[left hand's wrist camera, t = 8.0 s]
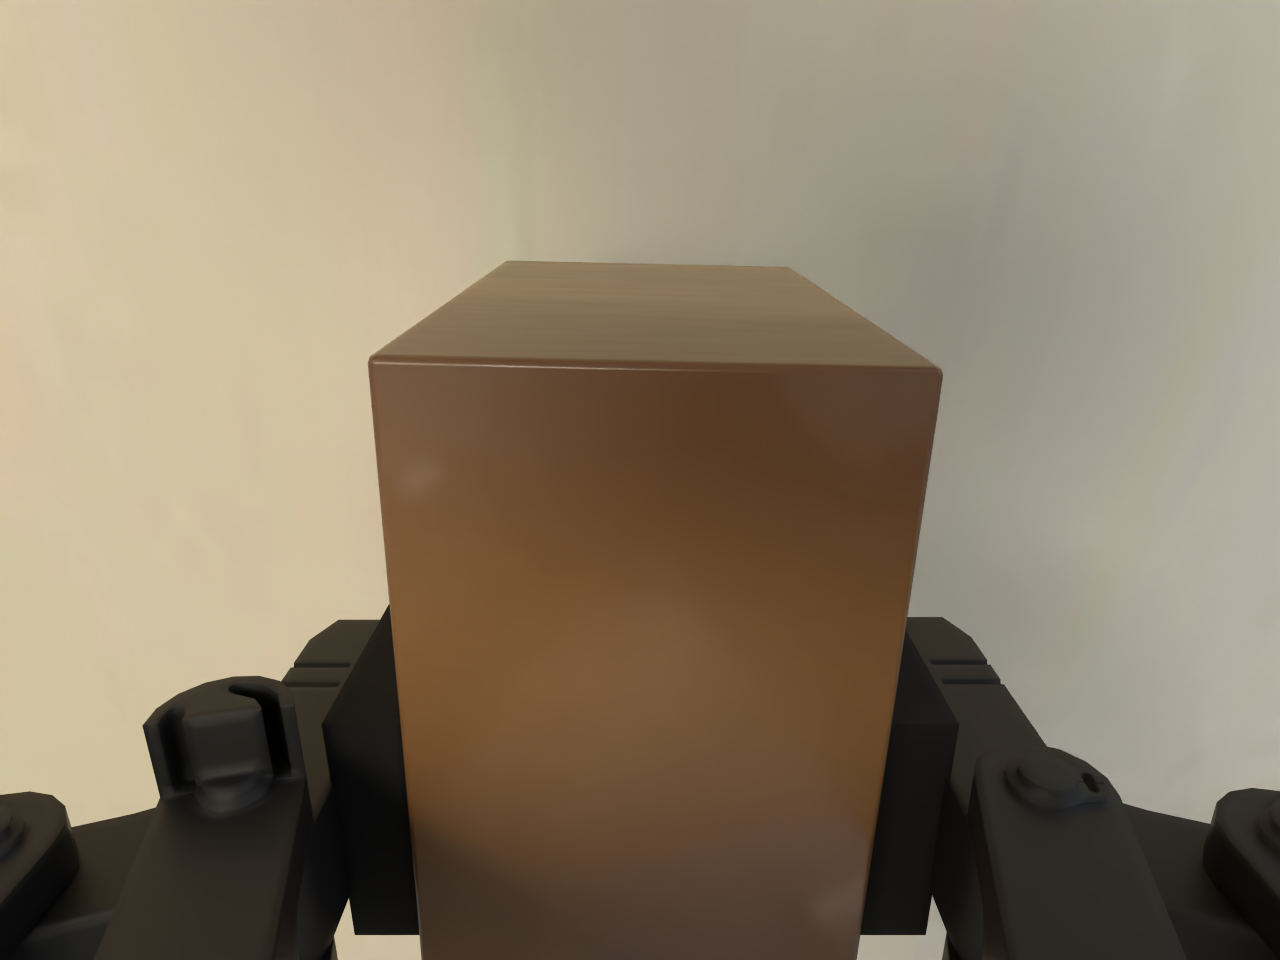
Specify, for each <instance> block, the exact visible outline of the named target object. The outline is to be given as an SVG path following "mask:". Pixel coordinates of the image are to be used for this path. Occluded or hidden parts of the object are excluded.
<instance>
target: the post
mask: <svg viewBox="0 0 1280 960" xmlns="http://www.w3.org/2000/svg"><path fill="white" fill-rule="evenodd" d="M368 370H369V381H370V392H371V403H372V415H373V426H374V437H375V448H376V459H377V470H378V481H379V492H380V503H381V514H382V525H383V536H384V547H385V559H386V570H387V581H388V592H389V603H390V614H391V625H392V636H393V647H394V658H395V669H396V680H397V692H398V703H399V714H400V725H401V736H402V747H403V758H404V769H405V780H406V791H407V802H408V813H409V824H410V836H411V847H412V858H413V869H414V880H415V891H416V902H417V913H418V924H419V935H420V946H421V957H422V960H857V953H858V946H859V939H860V933H861V926H862V919H863V912H864V906H865V899H866V892H867V885H868V879H869V872H870V865H871V858H872V852H873V845H874V838H875V831H876V825H877V818H878V811H879V805H880V798H881V791H882V784H883V778H884V771H885V764H886V757H887V751H888V744H889V737H890V730H891V724H892V717H893V710H894V703H895V697H896V690H897V683H898V676H899V670H900V663H901V656H902V649H903V643H904V636H905V629H906V622H907V616H908V609H909V602H910V595H911V589H912V582H913V575H914V568H915V562H916V555H917V548H918V541H919V535H920V528H921V521H922V514H923V508H924V501H925V494H926V487H927V481H928V474H929V467H930V460H931V454H932V447H933V440H934V433H935V427H936V420H937V413H938V406H939V400H940V393H941V386H942V379H943V373H942V369H941V368H939V367H938V366H936V365H935V364H933V363H932V362H930V361H929V360H927V359H926V358H924V357H923V356H921V355H920V354H918V353H917V352H915V351H914V350H912V349H911V348H909V347H908V346H906V345H905V344H903V343H902V342H900V341H899V340H897V339H896V338H894V337H893V336H891V335H890V334H888V333H887V332H885V331H884V330H882V329H881V328H879V327H878V326H876V325H875V324H873V323H872V322H870V321H869V320H867V319H866V318H864V317H863V316H861V315H860V314H858V313H857V312H855V311H854V310H852V309H851V308H849V307H848V306H846V305H845V304H843V303H842V302H840V301H839V300H837V299H836V298H834V297H833V296H831V295H830V294H828V293H827V292H825V291H824V290H822V289H821V288H819V287H818V286H816V285H815V284H813V283H812V282H810V281H809V280H807V279H806V278H804V277H803V276H801V275H800V274H798V273H797V272H795V271H794V270H792V269H791V268H789V267H761V266H717V265H672V264H628V263H583V262H539V261H507V262H504V263H503V264H502V265H500V266H499V267H497V268H496V269H494V270H493V271H492V272H490V273H489V274H487V275H486V276H484V277H483V278H482V279H480V280H479V281H477V282H476V283H474V284H473V285H472V286H470V287H469V288H467V289H466V290H464V291H463V292H462V293H460V294H459V295H457V296H456V297H454V298H453V299H452V300H450V301H449V302H447V303H446V304H444V305H443V306H442V307H440V308H439V309H437V310H436V311H434V312H433V313H432V314H430V315H429V316H427V317H426V318H424V319H423V320H422V321H420V322H419V323H417V324H416V325H414V326H413V327H412V328H410V329H409V330H407V331H406V332H404V333H403V334H402V335H400V336H399V337H397V338H396V339H394V340H393V341H392V342H390V343H389V344H387V345H386V346H384V347H383V348H382V349H380V350H379V351H377V352H376V353H374V354H373V355H372V356H370V358H369V361H368Z"/></svg>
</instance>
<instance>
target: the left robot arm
mask: <svg viewBox="0 0 1280 960" xmlns="http://www.w3.org/2000/svg"><path fill="white" fill-rule="evenodd" d="M143 729H144V733H145V737H146V742H147V746H148V750H149V754H150V758H151V762H152V766H153V770H154V774H155V778H156V782H157V786H158V790H159V794H160V799H159V802H158V804H157V807H156V808H152V809H149V810H145V811H142V812H139V813H135V814H131V815H126V816H122V817H117V818H112V819H108V820H103V821H99V822H94V823H90V824H85V825H80V826H76V827H71V825H70V821H69V818H68V815H67V811H66V808H65V806H64V805H63V804H62V803H61V802H60V801H58V800H57V799H56V798H55V797H54V796H53V795H48V794H42V793H35V792H22V793H13V794H5V795H0V960H338V958H337V951H336V945H335V940H334V934H335V931H336V929H337V926H338V924H339V921H340V919H341V916H342V914H343V911H344V909H345V906H346V904H347V901H348V898H349V901H350V907H351V913H352V920H353V926H354V932H355V935H419V924H418V913H417V902H416V891H415V880H414V869H413V858H412V847H411V836H410V824H409V813H408V802H407V791H406V780H405V769H404V758H403V747H402V736H401V725H400V714H399V703H398V692H397V680H396V669H395V658H394V647H393V636H392V625H391V614H390V604H389V605H388V607H387V609H386V611H385V612H384V614H383V616H382V618H381V620H338V621H336V622H335V623H333V624H332V625H331V626H329V627H328V628H326V629H325V630H323V631H322V632H320V633H319V634H318V635H316V636H315V637H313V638H312V639H310V640H309V642H308V643H307V645H306V646H305V648H304V649H303V651H302V652H301V654H300V655H299V656H298V658H297V659H296V661H295V662H294V668H290V670H289V671H288V672H287V674H286V675H285V677H284V678H283V680H282V681H281V682H280V681H277V680H273V679H269V678H265V677H261V676H240V677H230V678H225V679H221V680H216V681H211V682H207V683H204V684H201V685H199V686H197V687H194V688H192V689H189V690H187V691H184V692H182V693H179V694H178V695H176V696H175V697H173V698H172V699H170V700H169V701H167V702H166V703H164V704H163V705H161V706H160V707H158V708H157V709H156V710H155V711H154V712H153V713H152V715H151V716H150V717H149V718H148V720H147V721H146V722H145V723H144V724H143ZM932 895H933V898H934V900H935V903H936V905H937V908H938V911H939V913H940V916H941V918H942V921H943V923H944V926H945V928H946V931H947V934H946V940H945V945H944V951H943V957H942V960H1280V791H1273V790H1265V789H1256V788H1249V789H1243V790H1237V791H1231V792H1229V793H1227V794H1226V795H1225V796H1224V797H1223V798H1221V799H1220V800H1219V801H1218V802H1217V804H1216V807H1215V810H1214V814H1213V817H1212V820H1211V824H1208V823H1203V822H1198V821H1194V820H1189V819H1185V818H1180V817H1175V816H1171V815H1166V814H1162V813H1157V812H1152V811H1148V810H1144V809H1141V808H1137V807H1134V806H1130V805H1127V804H1123V803H1122V800H1121V798H1120V796H1119V794H1118V793H1117V791H1116V790H1115V789H1114V787H1113V786H1112V784H1111V783H1110V781H1109V780H1108V779H1107V778H1106V777H1105V776H1104V775H1103V774H1101V773H1100V772H1099V771H1097V770H1096V769H1095V768H1093V767H1092V766H1091V765H1090V764H1088V763H1087V762H1085V761H1083V760H1081V759H1079V758H1077V757H1075V756H1073V755H1070V754H1068V753H1066V752H1064V751H1062V750H1060V749H1055V748H1051V747H1047V746H1046V745H1045V743H1044V742H1043V740H1042V739H1041V737H1040V736H1039V735H1038V733H1037V732H1036V730H1035V729H1034V727H1033V726H1032V724H1031V723H1030V722H1029V720H1028V719H1027V717H1026V716H1025V714H1024V713H1023V711H1022V710H1021V709H1020V707H1019V706H1018V704H1017V703H1016V701H1015V700H1014V698H1013V697H1012V696H1011V694H1010V693H1009V691H1008V690H1007V688H1006V687H1005V685H1004V684H1001V683H1000V678H999V677H998V675H997V674H996V672H995V671H994V670H993V668H992V667H991V665H987V659H986V658H985V656H984V655H983V654H982V652H981V651H980V649H979V648H978V646H977V645H976V643H975V642H974V641H973V639H972V638H971V637H970V636H969V635H967V634H966V633H964V632H963V631H962V630H960V629H959V628H957V627H956V626H954V625H953V624H951V623H950V622H948V621H947V620H946V619H944V618H943V617H907V622H906V629H905V636H904V643H903V649H902V656H901V663H900V670H899V676H898V683H897V690H896V697H895V703H894V710H893V717H892V724H891V730H890V737H889V744H888V751H887V757H886V764H885V771H884V778H883V784H882V791H881V798H880V805H879V811H878V818H877V825H876V831H875V838H874V845H873V852H872V858H871V865H870V872H869V879H868V885H867V892H866V899H865V906H864V912H863V919H862V926H861V933H860V935H926V929H927V923H928V917H929V911H930V904H931V898H932Z"/></svg>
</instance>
